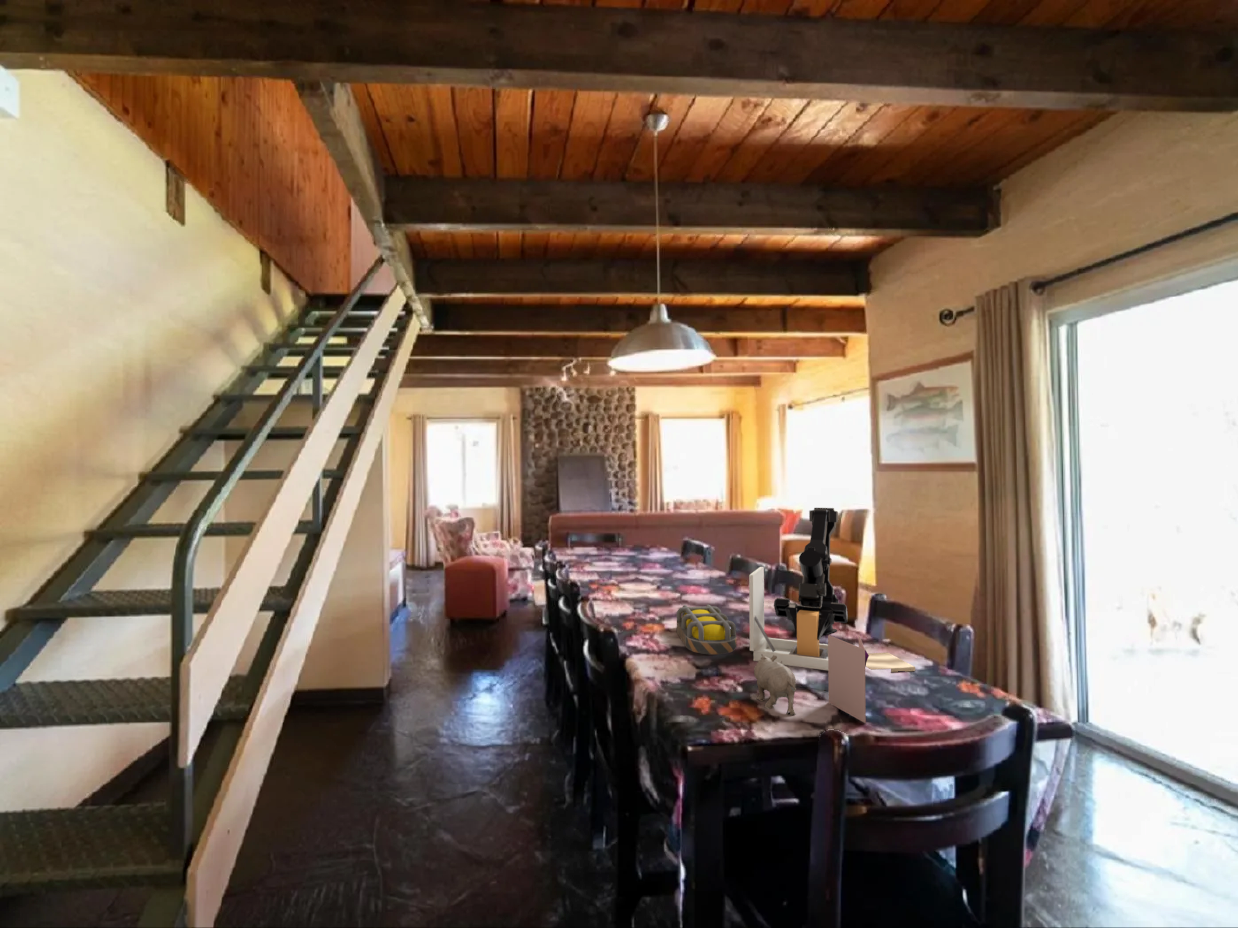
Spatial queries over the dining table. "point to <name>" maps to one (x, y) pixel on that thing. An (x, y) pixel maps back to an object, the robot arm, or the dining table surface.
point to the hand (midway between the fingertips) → (807, 637)
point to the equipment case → (773, 646)
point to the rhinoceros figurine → (775, 682)
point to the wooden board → (887, 662)
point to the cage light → (706, 630)
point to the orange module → (807, 633)
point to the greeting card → (847, 677)
